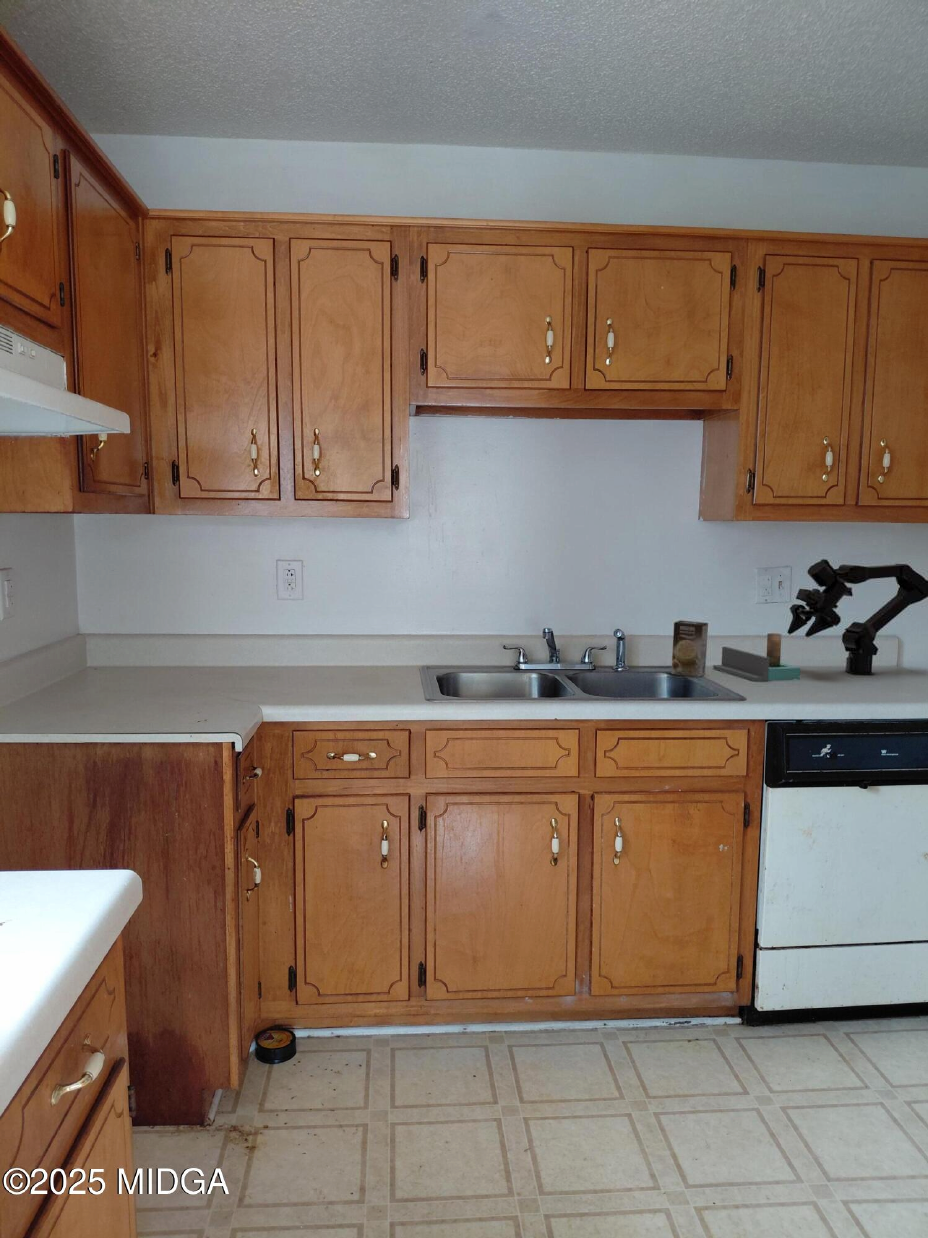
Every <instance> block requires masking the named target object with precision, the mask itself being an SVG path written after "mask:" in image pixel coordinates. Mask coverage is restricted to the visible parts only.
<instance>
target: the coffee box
mask: <svg viewBox="0 0 928 1238" xmlns="http://www.w3.org/2000/svg"><path fill="white" fill-rule="evenodd" d="M708 630H709V622H702V621H701V622H700V621H689V620H681V619H680V620H678V621H675V622H674V623H673V637H672V656H671V672H670V674H671V675H678V676H687V677H694V678H695V677H696V678H700V676H701V677H703V676H704V675H706V664H707V663H706V662H707V649H708V648H707V645H708ZM702 675H703V676H702Z"/></svg>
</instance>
